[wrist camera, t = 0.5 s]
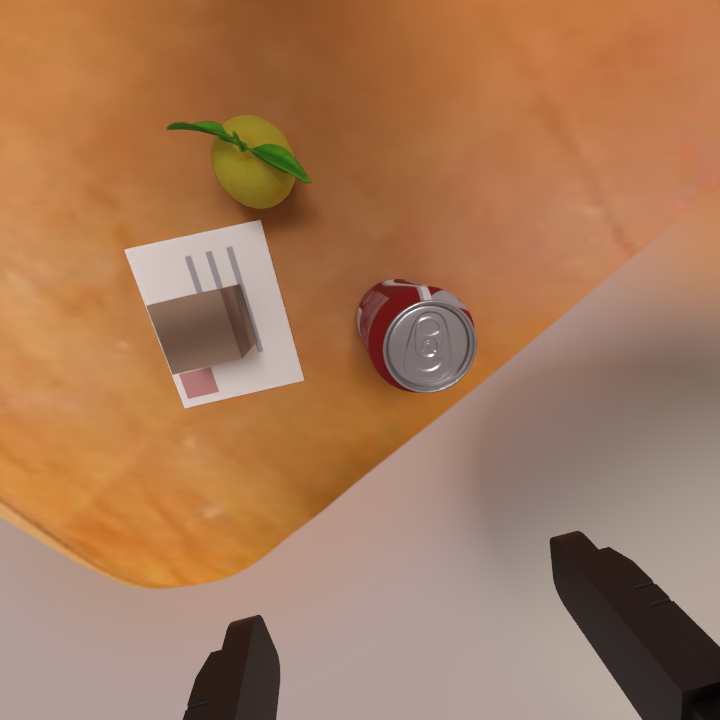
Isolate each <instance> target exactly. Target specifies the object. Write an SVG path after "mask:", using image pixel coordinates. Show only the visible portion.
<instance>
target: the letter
mask: <svg viewBox="0 0 720 720" xmlns="http://www.w3.org/2000/svg"><path fill="white" fill-rule="evenodd" d="M124 251H125V254H126V256H127V259H128V261H129V264H130V267H131V269H132V272H133V274H134V277H135V280H136V282H137V285H138V288H139V290H140V293H141V295H142V298H143V301H144V303H145V306H147V305H151V304H155V303H159V302H163V301H167V300H171V299H175V298H179V297H184V296H188V295H193V294H197V293H202V292H206V291H211V290H215V289H220V288H224V287H229V286H233V285H237V284H240V285H241V288H242V291H243V295H244V298H245V301H246V305H247V308H248V311H249V314H250V318H251V321H252V324H253V328H254V331H255V334H256V338H257V342H256V343H255V345H254V346H253V347H252V348H251V349H250V350H249V351H248V353H247V354H246V355H245V356H244V357H243V358H242V359H239V360H235V361H231V362H226V363H222V364H218V365H213V366H209V367H205V368H200V369H196V370H192V371H187V372H183V373H179V374H174V375H172V376H173V379H174V382H175V384H176V387H177V389H178V392H179V395H180V397H181V400H182V403H183V405H184V408H189V407H193V406H198V405H202V404H206V403H211V402H215V401H219V400H223V399H228V398H232V397H236V396H241V395H245V394H249V393H254V392H258V391H262V390H266V389H271V388H275V387H279V386H284V385H288V384H292V383H296V382H301V381H304V376H303V373H302V369H301V365H300V362H299V358H298V354H297V351H296V347H295V343H294V340H293V336H292V332H291V329H290V325H289V321H288V318H287V314H286V310H285V307H284V303H283V299H282V296H281V292H280V288H279V285H278V281H277V277H276V274H275V270H274V267H273V263H272V259H271V256H270V252H269V248H268V245H267V241H266V237H265V234H264V230H263V226H262V223H261V220H257V221H252V222H247V223H243V224H238V225H234V226H229V227H225V228H220V229H215V230H211V231H206V232H202V233H197V234H193V235H188V236H183V237H179V238H174V239H170V240H165V241H161V242H156V243H151V244H147V245H142V246H138V247H133V248H129V249H124ZM146 308H147V307H146ZM147 311H148V309H147ZM148 314H149V312H148ZM149 316H150V315H149ZM150 319H151V317H150ZM151 321H152V320H151ZM152 324H153V322H152ZM153 327H154V325H153ZM154 329H155V328H154ZM155 332H156V330H155ZM156 335H157V333H156ZM157 337H158V336H157ZM158 340H159V338H158ZM159 342H160V341H159ZM160 345H161V343H160ZM161 348H162V346H161ZM162 350H163V349H162ZM163 353H164V351H163ZM164 355H165V354H164ZM165 358H166V357H165ZM166 361H167V359H166ZM167 363H168V362H167ZM168 366H169V364H168ZM169 369H170V367H169ZM170 371H171V370H170ZM171 374H172V372H171Z"/></svg>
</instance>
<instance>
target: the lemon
mask: <svg viewBox="0 0 720 720" xmlns="http://www.w3.org/2000/svg"><path fill="white" fill-rule="evenodd" d="M173 129H185V130H195V131H201V132H205V133H209V134H213V135H215V137H214V140H213V142H212V151H211V160H212V164H213V169H214V173H215V175H216V177H217V179H218V180H219V182H220V184H221V186H222V187H223V188H224V189H225V190H226V191H227V192H228V193H229V194H230V195H231V196H232V197H233V198H234V199H235V200H237V201H239V202H240V203H242V204H243V205H245V206H247V207H252V208H257V209H264V208H271V207H273V206H275V205H277V204H279V203H281V202H282V201H283V200H284V199H285V198H286V197H287V196H288V195H289V194H290V192H291V189H292V187H293V185H294V183H295V178H297V179H299V180H301V181H302V182H304V183H307V184H308V183H312V182H311V180H310V179H309V177H308V176H307V174H306V173H305V171H304V170H303V168H302V167H301V165H300V164H299V162H298V161H297V160H296V159H295V154H294V152H293V150H292V147H291V145H290V143H289V141H288V139H287V138H286V137H285V135H284V134H283V133H282V132H281V131H280V130H279V129H278V128H277V127H276V126H275V125H273V124H272V123H270V122H269V121H267V120H265V119H264V118H261V117H257V116H253V115H239V116H235V117H233V118H231V119H229V120H227V121H225V122H224V123H223V125H222V126H221V125H220V124H218V123H216V122H212V121H204V122H197V123H193V124H190V123H185V122H177V123H173V124H170V125H169V126H168V127H167V130H173Z"/></svg>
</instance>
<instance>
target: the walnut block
mask: <svg viewBox="0 0 720 720" xmlns="http://www.w3.org/2000/svg"><path fill="white" fill-rule="evenodd" d="M146 307H147V309H148V312H149V315H150V317H151V320H152V322H153V325H154V328H155V330H156V333H157V336H158V338H159V341H160V343H161V346H162V349H163V351H164V354H165V357H166V359H167V362H168V364H169V367H170V370H171V372H172V375H174V374H179V373H183V372H187V371H192V370H196V369H200V368H205V367H209V366H213V365H218V364H222V363H226V362H231V361H235V360H239V359H242V358H243V357H244V356H245V355H246V354H247V353H248V351H249V350H250V349H251V348H252V347H253V346H254V345H255V343H256V342H257V338H256V334H255V331H254V328H253V324H252V321H251V318H250V314H249V311H248V308H247V305H246V301H245V298H244V295H243V291H242V288H241V285H240V284H237V285H233V286H229V287H224V288H220V289H215V290H211V291H206V292H202V293H197V294H193V295H188V296H184V297H179V298H175V299H171V300H167V301H163V302H159V303H155V304H151V305H147V306H146Z"/></svg>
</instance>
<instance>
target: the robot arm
mask: <svg viewBox="0 0 720 720" xmlns="http://www.w3.org/2000/svg"><path fill="white" fill-rule="evenodd" d="M550 550H551V559H552V571H553V579H554V584H555V587H556V590H557V592H558V594H559V597H560V599H561V601H562V602H563V604H564V606H565V607H566V609H567V610H568V612H569V613H570V614H571V616H572V618H573V619H574V620H575V622H576V623H577V625H578V626H579V628H580V629H581V631H582V632H583V634H584V635H585V637H586V638H587V639H588V641H589V642H590V644H591V645H592V647H593V648H594V650H595V651H596V653H597V654H598V656H599V657H600V658H601V660H602V661H603V663H604V664H605V666H606V667H607V669H608V670H609V672H610V673H611V674H612V676H613V677H614V679H615V680H616V682H617V683H618V685H619V686H620V687H621V689H622V690H623V692H624V693H625V695H626V696H627V698H628V699H629V701H630V702H631V704H632V705H633V707H634V708H635V710H636V711H637V712H638V714H639V715H640V717H641V718H642V720H720V647H719V646H718V645H717V644H716V643H715V642H714V641H713V640H712V639H711V638H710V637H709V636H708V635H707V634H706V633H705V632H704V631H703V630H702V629H701V628H700V627H699V626H698V625H697V624H696V623H695V622H694V621H693V620H692V619H691V618H690V617H689V616H688V615H687V614H686V613H685V612H684V611H683V610H682V609H681V608H680V607H679V606H678V605H677V604H676V603H675V602H674V601H671V600H670V598H669V596H668V595H667V594H666V593H665V592H664V591H663V590H662V589H661V588H660V587H659V586H658V585H657V584H654V583H653V581H652V579H651V578H650V577H648V575H646V573H644V572H643V571H642V570H641V569H640V568H639V567H638V566H637V565H636V564H635V563H634V562H633V561H632V560H630V559H629V558H627V557H625V556H623V555H622V554H620V553H618V552H617V551H615V550H613V549H612V548H610V547H607V548H603V549H600V550H599V549H598V548H597V547H596V546H595V545H594V544H593V543H592V542H591V541H590V540H589V539H588V538H587V537H586V536H585V535H584V534H583V533H582V532H580V531H575V532H571V533H567V534H563V535H560V536H556V537H552V538H551V539H550ZM279 685H280V664H279V658H278V654H277V651H276V649H275V646H274V644H273V642H272V639H271V637H270V635H269V632H268V630H267V627H266V625H265V623H264V620H263V618H262V617H261V615H256V616H253V617H248V618H245V619H241V620H237V621H233V622H231V623H230V624H229V626H228V629H227V631H226V636H225V639H224V643H223V647H222V650H219V651H216V652H212V653H211V654H210V655H209V657H208V658H207V660H206V662H205V663H204V665H203V667H202V669H201V670H200V672H199V673H198V675H197V677H196V679H195V682H194V686H193V689H192V692H191V695H190V698H189V701H188V709H187V710H186V711H185V714H184V718H183V720H276V714H277V705H278V696H279Z"/></svg>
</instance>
